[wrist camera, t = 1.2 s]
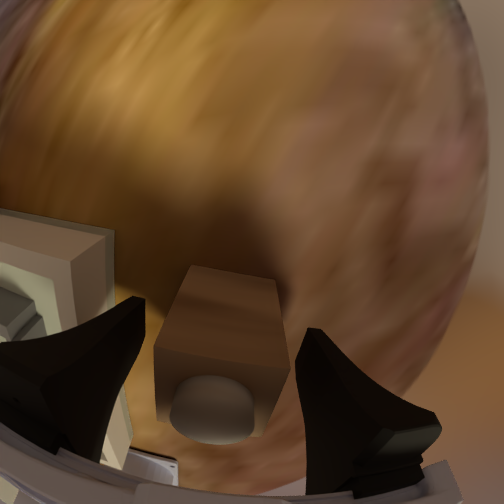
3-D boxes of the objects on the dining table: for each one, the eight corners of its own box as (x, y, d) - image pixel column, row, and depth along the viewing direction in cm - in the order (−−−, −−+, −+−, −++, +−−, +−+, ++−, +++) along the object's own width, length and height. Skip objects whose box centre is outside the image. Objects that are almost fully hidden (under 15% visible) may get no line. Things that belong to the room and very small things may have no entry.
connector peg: (257, 344, 15) (261, 457, 8) (184, 331, 14) (151, 440, 8) (275, 279, 13) (294, 393, 7) (191, 264, 13) (143, 368, 6)
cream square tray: (133, 434, 18) (121, 470, 15) (-10, 367, 17) (-28, 389, 13) (114, 230, 12) (69, 261, 9) (-52, 197, 11) (-85, 211, 7)
